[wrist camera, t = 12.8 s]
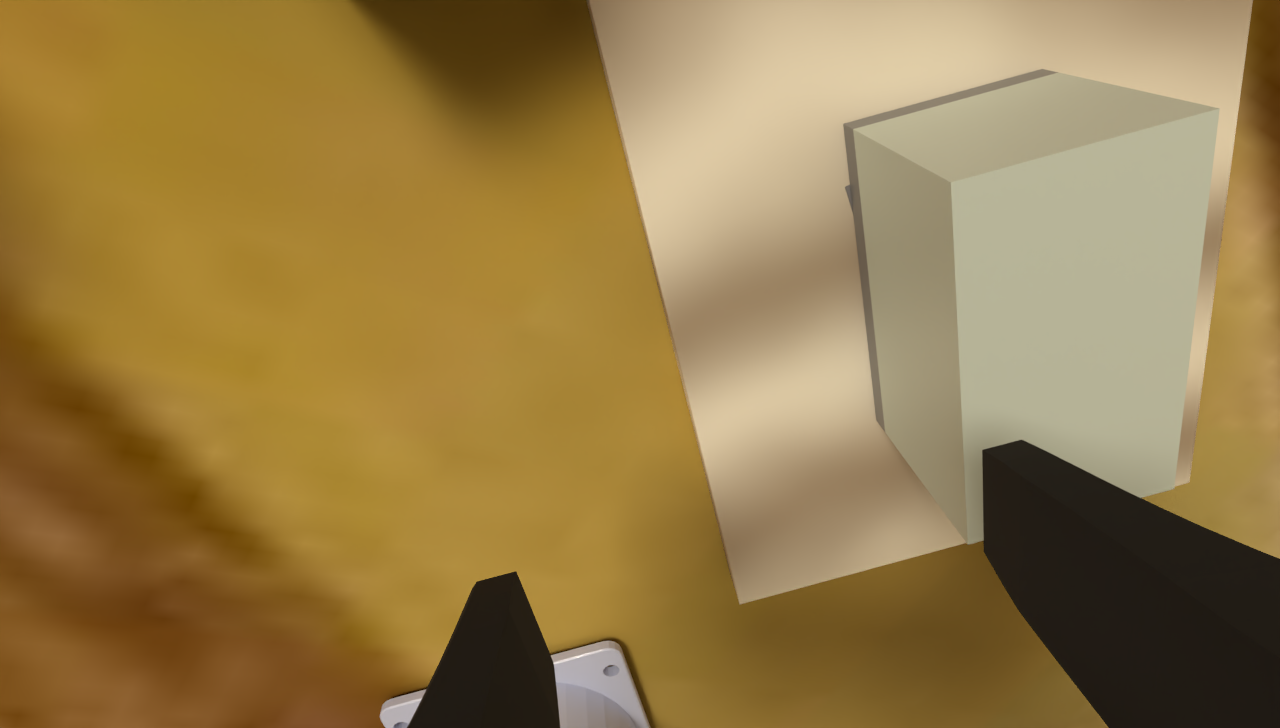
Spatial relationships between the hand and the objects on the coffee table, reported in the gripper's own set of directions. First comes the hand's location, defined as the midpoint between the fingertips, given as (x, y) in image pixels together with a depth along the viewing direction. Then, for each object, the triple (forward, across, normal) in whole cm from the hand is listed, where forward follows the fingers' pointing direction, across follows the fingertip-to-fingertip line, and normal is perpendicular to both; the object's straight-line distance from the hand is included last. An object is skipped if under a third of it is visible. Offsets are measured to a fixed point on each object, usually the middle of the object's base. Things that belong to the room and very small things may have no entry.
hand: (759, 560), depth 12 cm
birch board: (+9, -7, 0) cm, 12 cm away
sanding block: (+8, -7, 0) cm, 11 cm away
